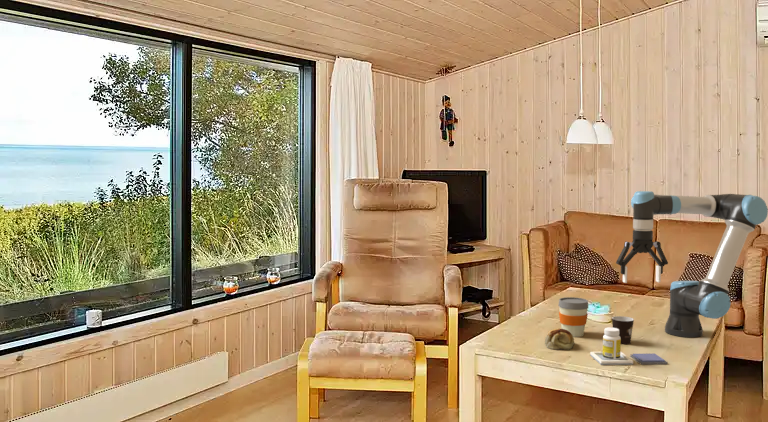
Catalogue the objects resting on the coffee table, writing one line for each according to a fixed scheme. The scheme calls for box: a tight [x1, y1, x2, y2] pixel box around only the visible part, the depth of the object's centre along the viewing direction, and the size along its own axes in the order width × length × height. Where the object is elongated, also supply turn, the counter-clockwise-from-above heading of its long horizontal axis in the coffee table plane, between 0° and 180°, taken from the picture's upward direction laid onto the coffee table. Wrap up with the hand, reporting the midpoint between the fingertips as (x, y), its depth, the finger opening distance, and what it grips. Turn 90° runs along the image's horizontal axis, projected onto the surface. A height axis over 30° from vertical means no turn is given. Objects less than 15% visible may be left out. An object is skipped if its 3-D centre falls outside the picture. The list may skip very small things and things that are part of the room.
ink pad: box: [629, 353, 669, 366], centre depth 252 cm, size 10×10×1 cm
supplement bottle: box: [602, 326, 622, 360], centre depth 252 cm, size 6×6×11 cm
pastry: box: [544, 328, 575, 351], centre depth 271 cm, size 14×12×8 cm
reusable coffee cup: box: [558, 296, 589, 338], centre depth 289 cm, size 13×13×15 cm
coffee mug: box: [611, 315, 635, 345], centre depth 277 cm, size 12×9×10 cm
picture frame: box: [589, 351, 634, 366], centre depth 253 cm, size 12×12×1 cm
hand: (641, 282), depth 268 cm, fingers open, 13 cm apart
